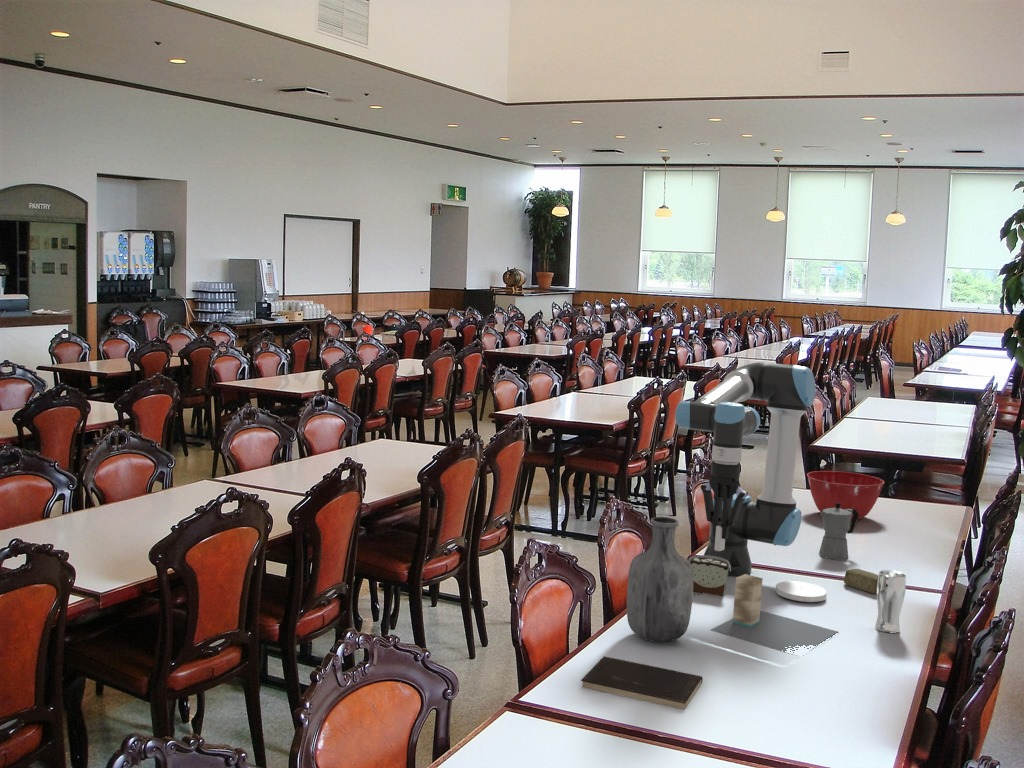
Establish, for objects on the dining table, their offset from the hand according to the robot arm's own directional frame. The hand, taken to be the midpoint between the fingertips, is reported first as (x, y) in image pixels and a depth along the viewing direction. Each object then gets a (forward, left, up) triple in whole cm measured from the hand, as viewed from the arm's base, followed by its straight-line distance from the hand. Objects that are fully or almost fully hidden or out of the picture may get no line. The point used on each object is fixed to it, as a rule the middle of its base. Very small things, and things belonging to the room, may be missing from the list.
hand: (719, 549), depth 269 cm
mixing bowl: (-22, +141, -18) cm, 144 cm away
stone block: (+19, +56, -19) cm, 62 cm away
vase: (-2, -26, -18) cm, 32 cm away
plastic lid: (+9, +34, -19) cm, 40 cm away
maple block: (+9, 0, -18) cm, 20 cm away
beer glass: (+37, +25, -18) cm, 48 cm away
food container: (-11, +17, -18) cm, 28 cm away
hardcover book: (+11, -53, -19) cm, 57 cm away
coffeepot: (-1, +84, -18) cm, 86 cm away
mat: (+17, 0, -18) cm, 25 cm away
